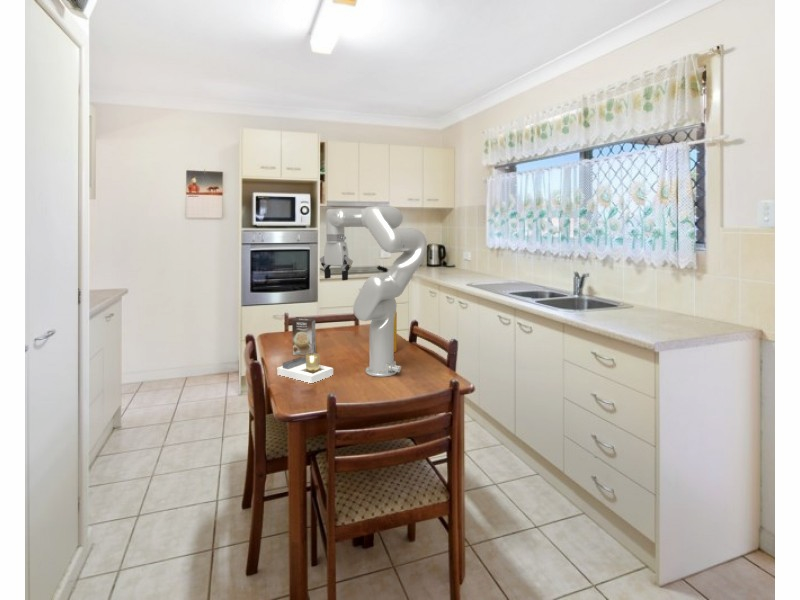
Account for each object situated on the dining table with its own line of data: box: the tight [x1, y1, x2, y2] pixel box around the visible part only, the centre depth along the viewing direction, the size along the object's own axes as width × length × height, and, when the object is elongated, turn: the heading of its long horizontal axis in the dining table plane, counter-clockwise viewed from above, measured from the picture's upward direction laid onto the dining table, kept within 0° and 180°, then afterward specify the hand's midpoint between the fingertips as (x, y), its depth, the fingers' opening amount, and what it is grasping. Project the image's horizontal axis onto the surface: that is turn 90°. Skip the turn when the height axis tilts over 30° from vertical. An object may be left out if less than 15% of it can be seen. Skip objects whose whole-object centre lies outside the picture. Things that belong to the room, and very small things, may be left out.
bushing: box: [305, 352, 320, 374], centre depth 184 cm, size 5×5×9 cm
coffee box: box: [291, 316, 317, 356], centre depth 214 cm, size 9×6×16 cm
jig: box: [276, 356, 334, 384], centre depth 186 cm, size 18×12×5 cm, turn 57°
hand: (336, 279), depth 205 cm, fingers open, 9 cm apart
